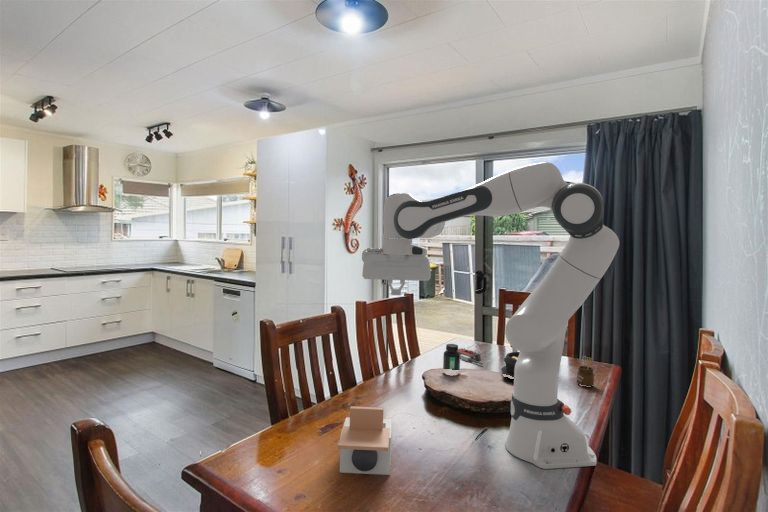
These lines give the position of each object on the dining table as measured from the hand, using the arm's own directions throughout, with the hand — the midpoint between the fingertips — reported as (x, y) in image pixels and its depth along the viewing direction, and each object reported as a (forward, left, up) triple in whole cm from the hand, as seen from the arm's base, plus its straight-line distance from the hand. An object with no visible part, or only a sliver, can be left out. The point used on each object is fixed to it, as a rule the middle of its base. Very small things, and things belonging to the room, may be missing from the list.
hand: (396, 295), depth 123 cm
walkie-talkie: (-34, -70, -40) cm, 87 cm away
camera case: (+6, +22, -39) cm, 45 cm away
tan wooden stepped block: (+6, +29, -30) cm, 42 cm away
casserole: (-53, -48, -39) cm, 82 cm away
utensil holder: (-74, -40, -39) cm, 93 cm away
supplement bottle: (-23, -48, -39) cm, 66 cm away
